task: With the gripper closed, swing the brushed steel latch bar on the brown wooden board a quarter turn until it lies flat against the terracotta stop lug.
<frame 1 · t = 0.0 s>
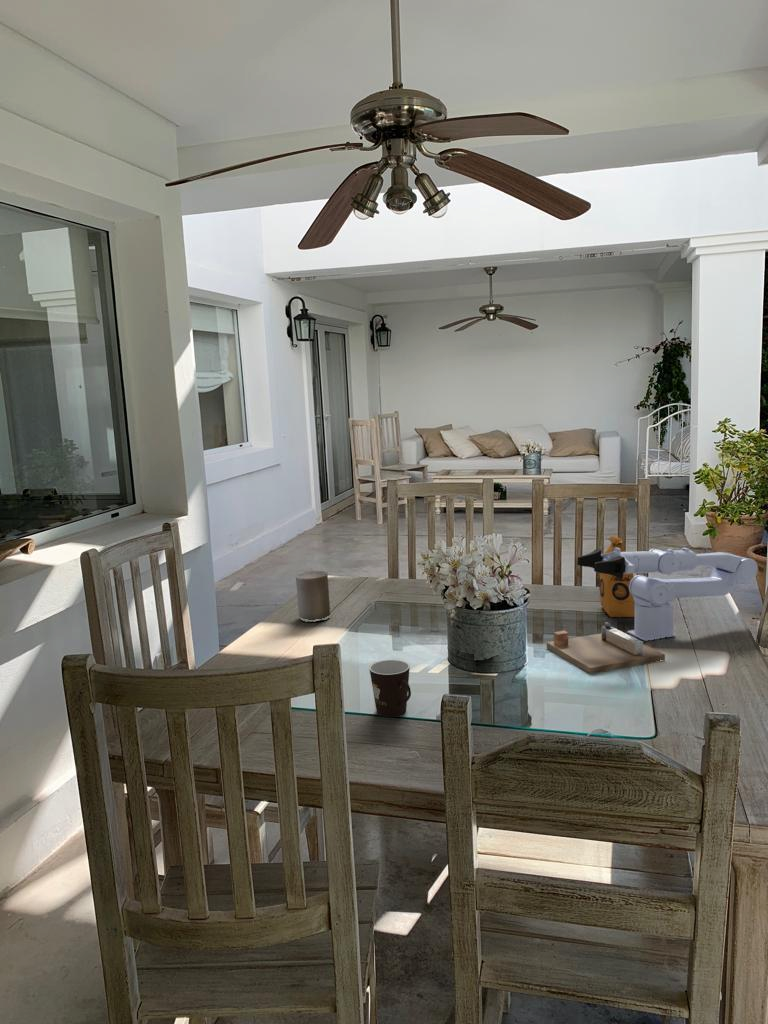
hand: (586, 564, 200), 22 cm above the table, tool horizontal, fingers open, 7 cm apart
pillar candle: (314, 618, 239), on the table
brown wooden board: (603, 653, 198), on the table
latch bar: (621, 637, 198), point 4 cm above the table, hinge at 90.0°
coffee mug: (392, 715, 168), on the table
coffee package: (617, 612, 231), on the table
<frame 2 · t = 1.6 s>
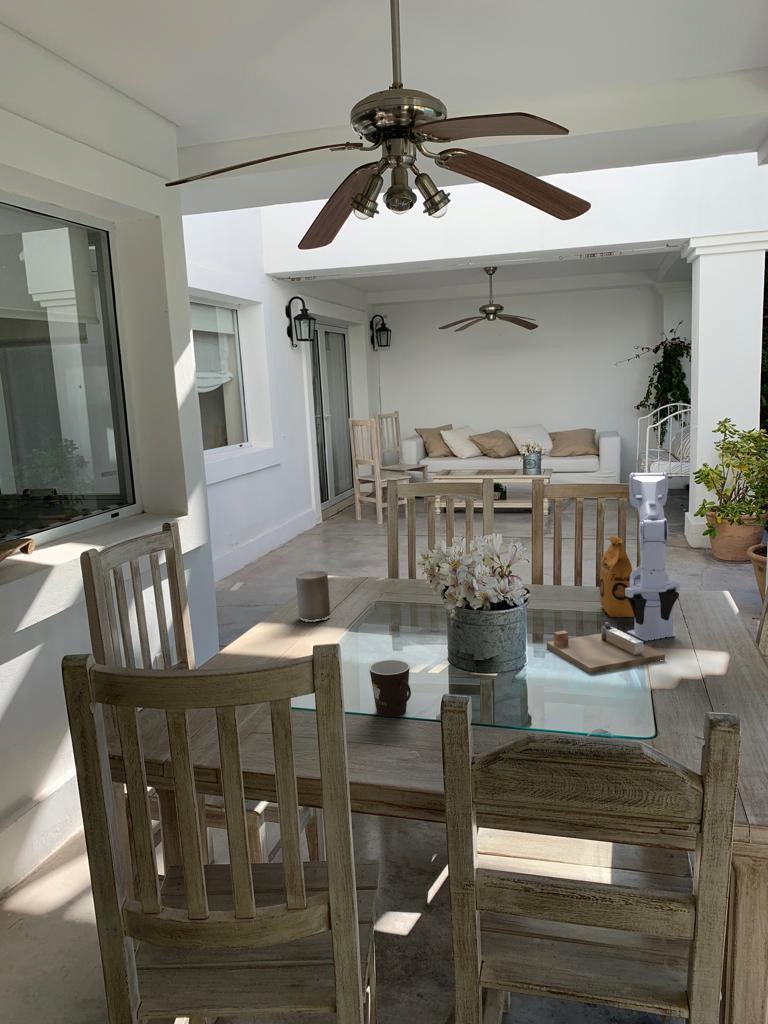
hand: (652, 621, 195), 8 cm above the table, tool pointing down, fingers open, 7 cm apart
nothing on the table moved.
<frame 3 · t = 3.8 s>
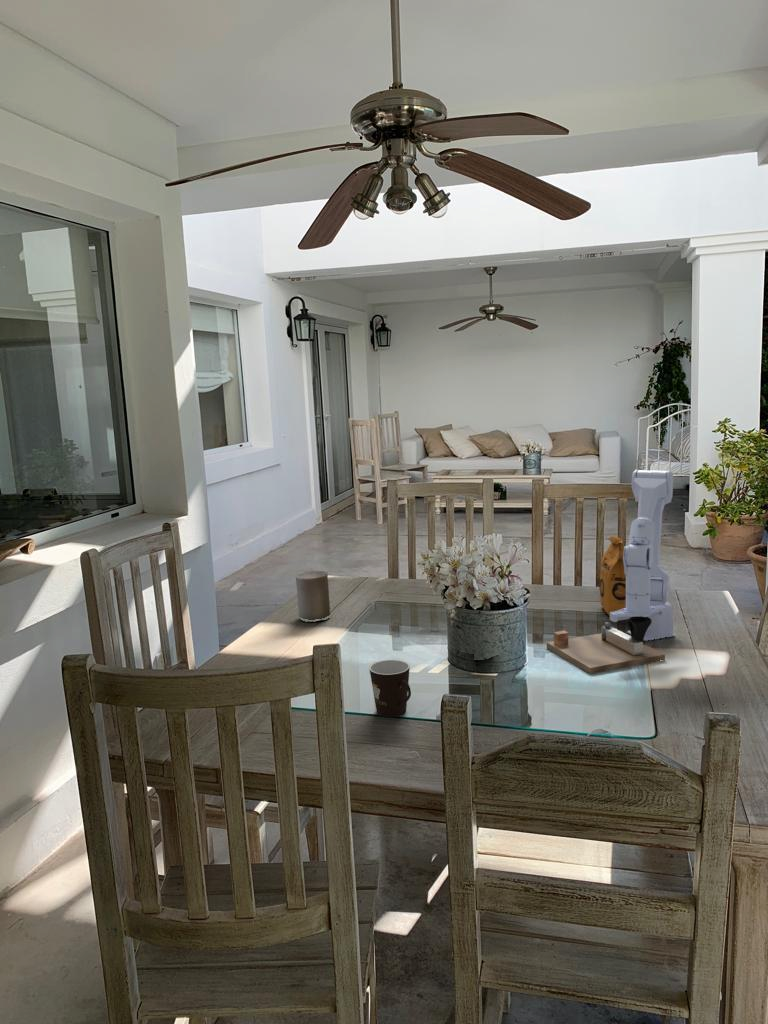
hand: (637, 645, 195), 3 cm above the table, tool pointing down, fingers closed
latch bar: (620, 637, 198), point 4 cm above the table, hinge at 89.1°, touching gripper
everything else where it was.
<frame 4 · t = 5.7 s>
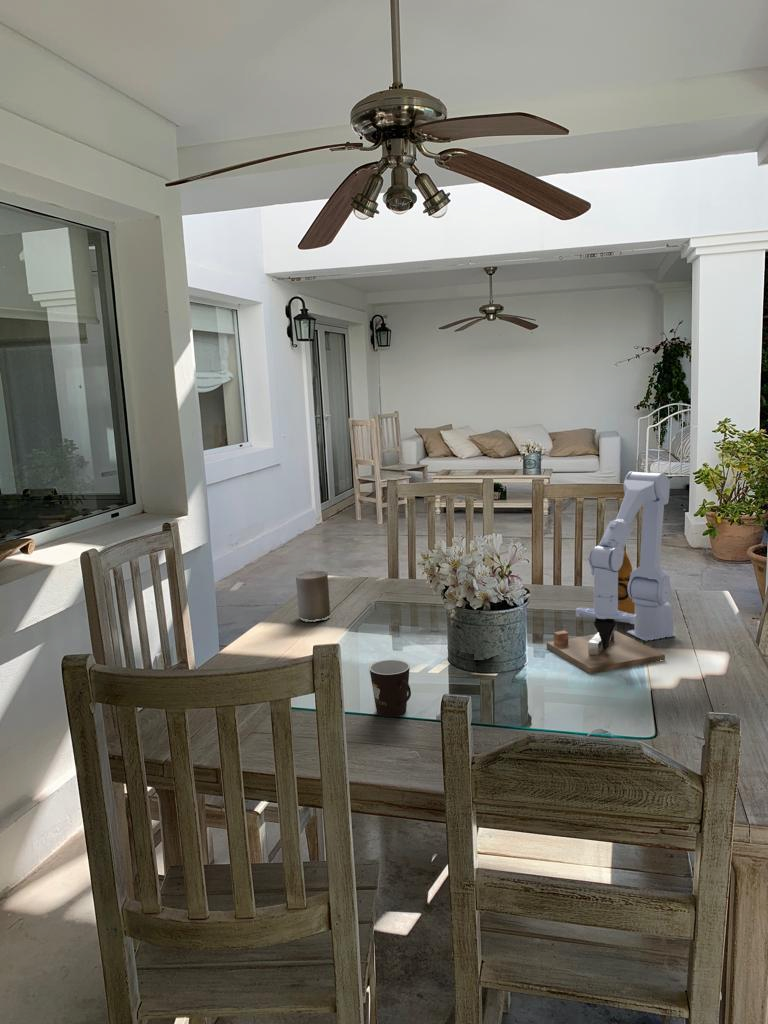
hand: (605, 647, 194), 3 cm above the table, tool pointing down, fingers closed
latch bar: (601, 637, 198), point 4 cm above the table, hinge at 40.3°, touching gripper
everything else where it was.
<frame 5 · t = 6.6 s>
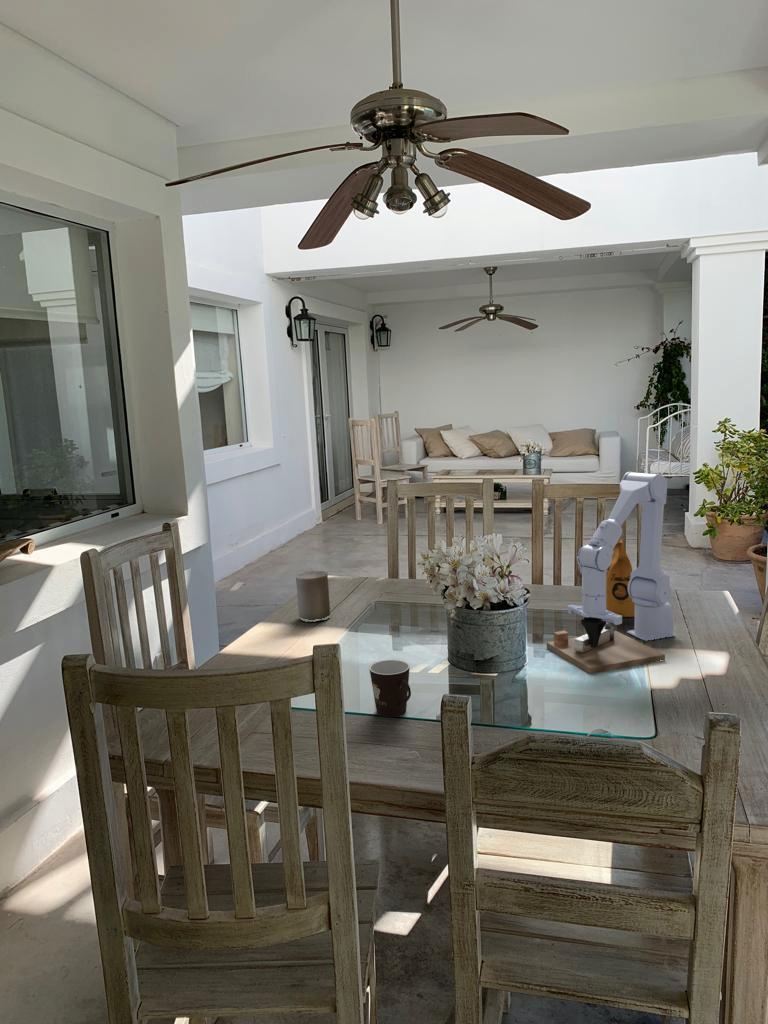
hand: (594, 646, 196), 3 cm above the table, tool pointing down, fingers closed
latch bar: (595, 636, 199), point 4 cm above the table, hinge at 23.3°, touching gripper
everything else where it was.
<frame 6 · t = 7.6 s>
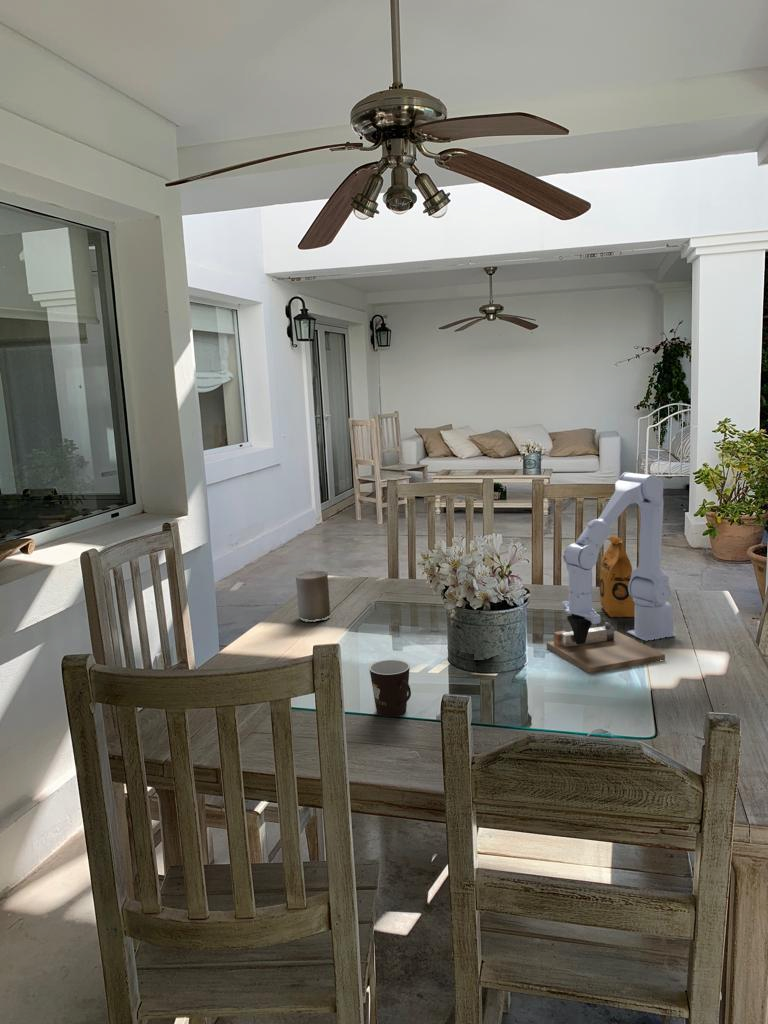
hand: (580, 643, 198), 3 cm above the table, tool pointing down, fingers closed
latch bar: (588, 633, 201), point 4 cm above the table, hinge at -0.8°, touching gripper
everything else where it was.
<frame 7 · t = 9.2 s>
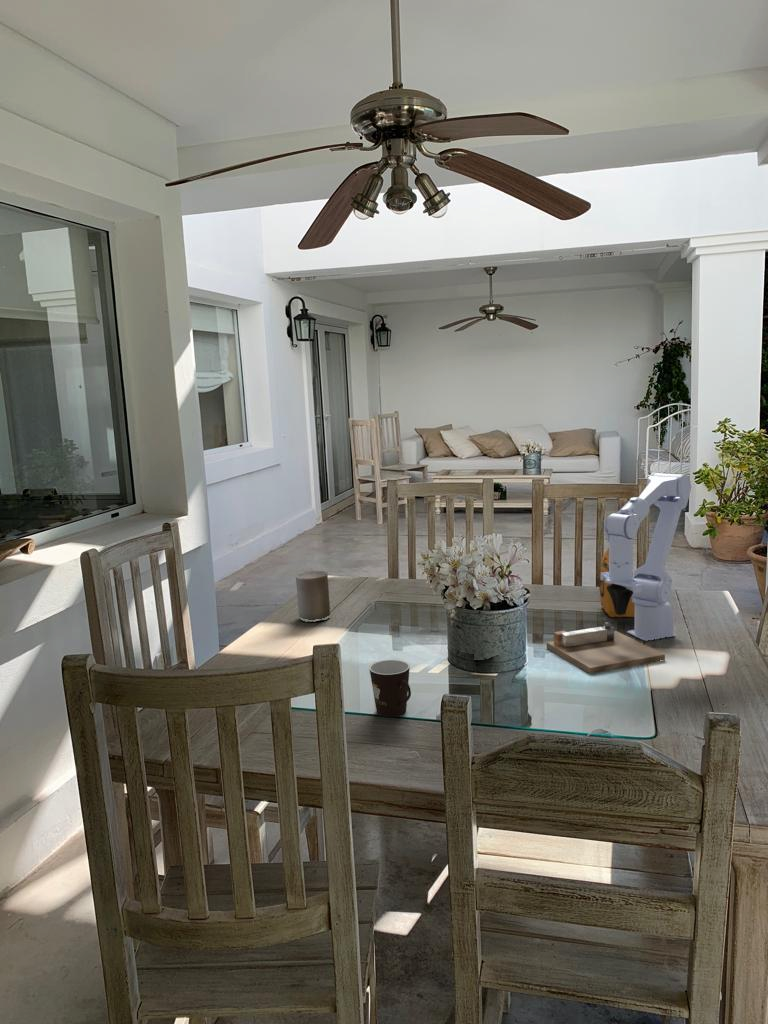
hand: (620, 613, 199), 9 cm above the table, tool pointing down, fingers closed
latch bar: (588, 633, 201), point 4 cm above the table, hinge at -0.8°
everything else where it was.
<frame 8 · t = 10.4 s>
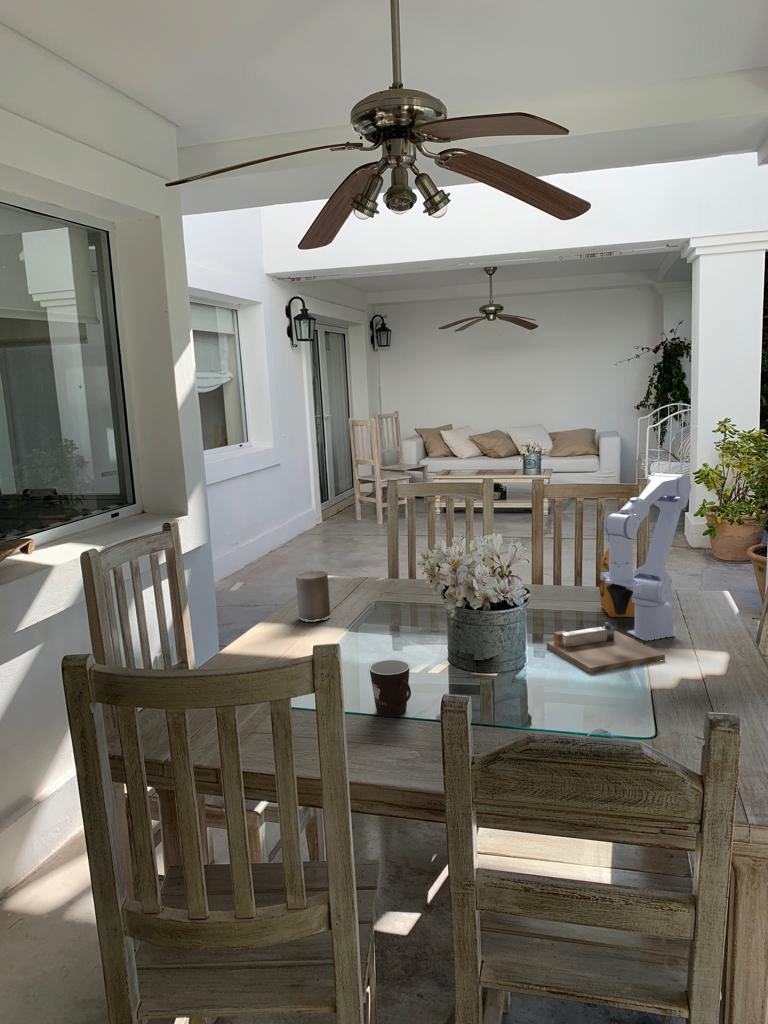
hand: (620, 613, 199), 9 cm above the table, tool pointing down, fingers closed
nothing on the table moved.
at the end: latch bar at -1° (first picture: +90°) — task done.
